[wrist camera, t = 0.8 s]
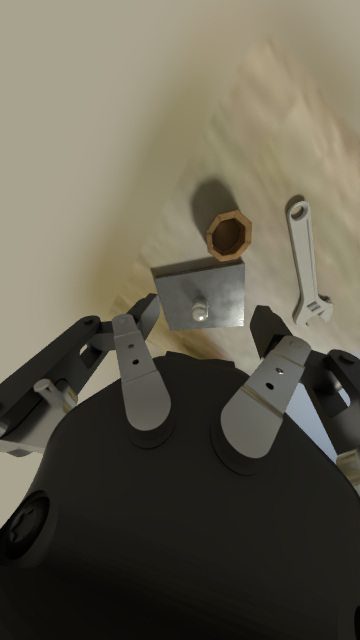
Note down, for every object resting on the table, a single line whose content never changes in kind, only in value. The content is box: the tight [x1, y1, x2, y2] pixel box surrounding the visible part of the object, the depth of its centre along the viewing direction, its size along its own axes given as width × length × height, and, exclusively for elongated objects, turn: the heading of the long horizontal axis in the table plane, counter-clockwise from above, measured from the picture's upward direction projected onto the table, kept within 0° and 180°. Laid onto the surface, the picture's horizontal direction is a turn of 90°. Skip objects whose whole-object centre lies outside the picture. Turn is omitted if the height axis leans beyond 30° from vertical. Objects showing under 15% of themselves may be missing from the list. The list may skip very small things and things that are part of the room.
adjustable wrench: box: [287, 201, 334, 331], centre depth 27 cm, size 25×6×2 cm, turn 26°
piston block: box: [154, 261, 245, 331], centre depth 30 cm, size 18×14×8 cm
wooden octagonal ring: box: [206, 210, 252, 262], centre depth 24 cm, size 6×6×5 cm
